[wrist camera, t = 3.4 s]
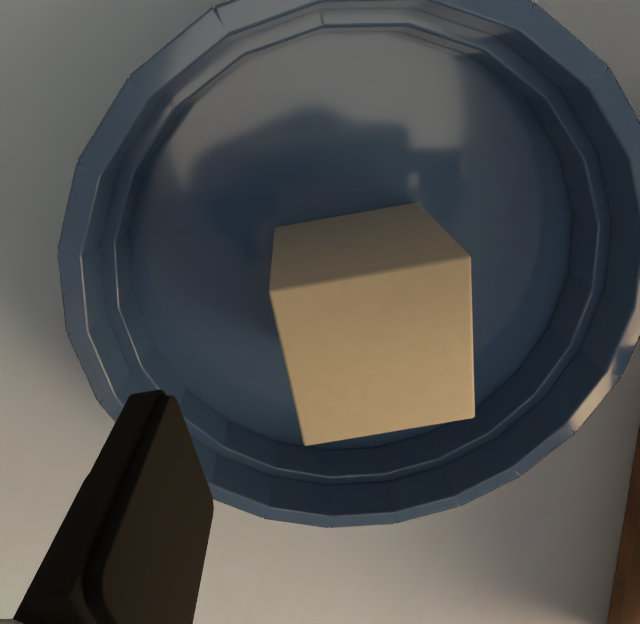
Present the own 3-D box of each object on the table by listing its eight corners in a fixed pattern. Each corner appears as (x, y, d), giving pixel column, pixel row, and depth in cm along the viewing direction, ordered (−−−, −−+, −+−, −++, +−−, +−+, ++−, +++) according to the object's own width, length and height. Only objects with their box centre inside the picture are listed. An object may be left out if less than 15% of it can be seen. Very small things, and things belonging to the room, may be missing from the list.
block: (300, 349, 17) (303, 448, 13) (273, 226, 15) (267, 290, 11) (426, 328, 17) (475, 418, 13) (417, 201, 15) (471, 255, 11)
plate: (185, 491, 20) (168, 561, 17) (11, 47, 13) (-68, 38, 10) (577, 426, 20) (626, 486, 17) (622, -67, 13) (720, -108, 10)
